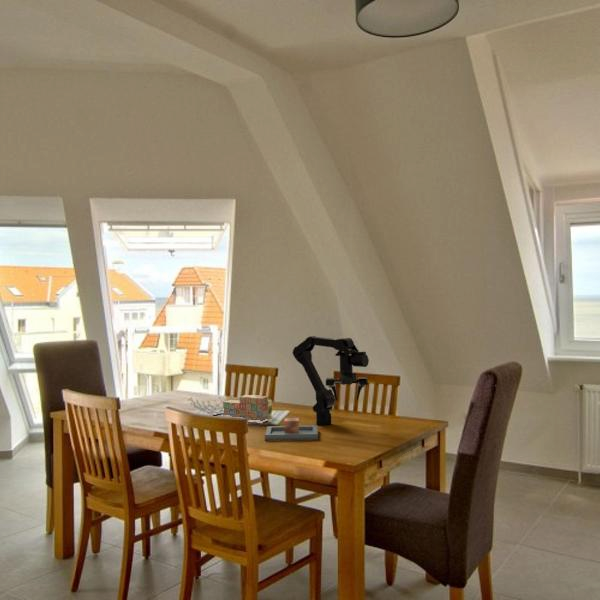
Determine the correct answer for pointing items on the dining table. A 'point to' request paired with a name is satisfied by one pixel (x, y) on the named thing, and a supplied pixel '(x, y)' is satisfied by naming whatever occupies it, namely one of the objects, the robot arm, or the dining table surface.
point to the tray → (280, 434)
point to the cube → (291, 425)
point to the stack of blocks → (248, 407)
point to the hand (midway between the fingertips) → (347, 400)
